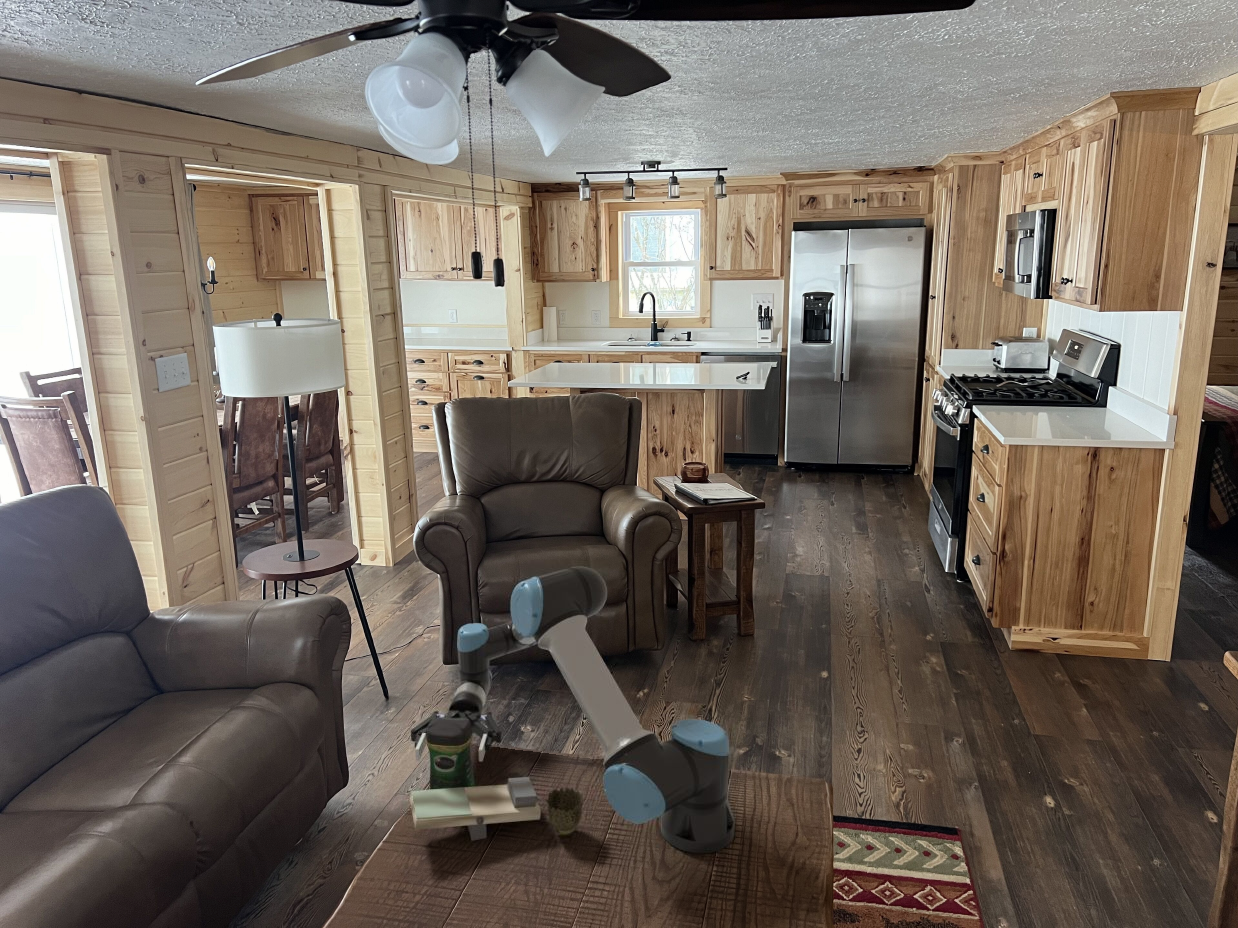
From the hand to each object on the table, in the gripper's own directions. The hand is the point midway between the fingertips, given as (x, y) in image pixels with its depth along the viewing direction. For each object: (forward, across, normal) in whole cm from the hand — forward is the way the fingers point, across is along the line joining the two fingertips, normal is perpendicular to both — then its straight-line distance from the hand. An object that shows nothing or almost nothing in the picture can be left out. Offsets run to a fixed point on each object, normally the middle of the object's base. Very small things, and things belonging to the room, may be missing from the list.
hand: (448, 755), depth 185 cm
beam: (+10, -7, -5) cm, 13 cm away
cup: (+11, -26, -10) cm, 30 cm away
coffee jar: (0, 0, -10) cm, 11 cm away
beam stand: (+10, -7, -10) cm, 16 cm away
